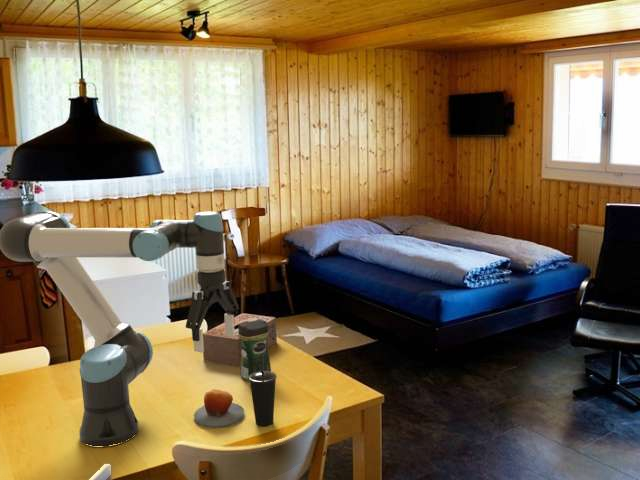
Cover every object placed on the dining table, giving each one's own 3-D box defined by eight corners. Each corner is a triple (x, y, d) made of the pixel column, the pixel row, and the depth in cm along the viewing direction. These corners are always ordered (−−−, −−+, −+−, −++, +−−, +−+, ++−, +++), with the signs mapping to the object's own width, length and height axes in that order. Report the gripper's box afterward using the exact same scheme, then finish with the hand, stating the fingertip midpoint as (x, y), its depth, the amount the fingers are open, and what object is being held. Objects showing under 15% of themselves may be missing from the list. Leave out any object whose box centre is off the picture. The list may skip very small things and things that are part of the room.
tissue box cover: (238, 367, 226) (237, 339, 224) (203, 361, 233) (202, 334, 231) (276, 343, 249) (275, 317, 247) (243, 338, 255) (242, 313, 253)
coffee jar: (262, 368, 224) (260, 315, 220) (274, 376, 217) (272, 321, 214) (236, 375, 219) (234, 321, 215) (248, 383, 212) (245, 327, 209)
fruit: (195, 415, 184) (201, 386, 187) (207, 418, 192) (212, 390, 194) (222, 418, 182) (227, 388, 185) (233, 421, 189) (238, 392, 192)
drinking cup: (264, 414, 190) (261, 347, 186) (284, 421, 185) (281, 353, 182) (244, 424, 184) (241, 355, 181) (264, 432, 180) (261, 361, 176)
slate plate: (223, 432, 180) (223, 428, 180) (183, 421, 187) (183, 417, 187) (254, 411, 192) (253, 407, 192) (215, 402, 199) (215, 398, 199)
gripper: (191, 281, 169) (195, 360, 173) (249, 260, 190) (252, 332, 194) (168, 277, 173) (173, 356, 177) (228, 258, 194) (231, 328, 198)
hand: (215, 343), depth 185 cm, fingers open, 13 cm apart
